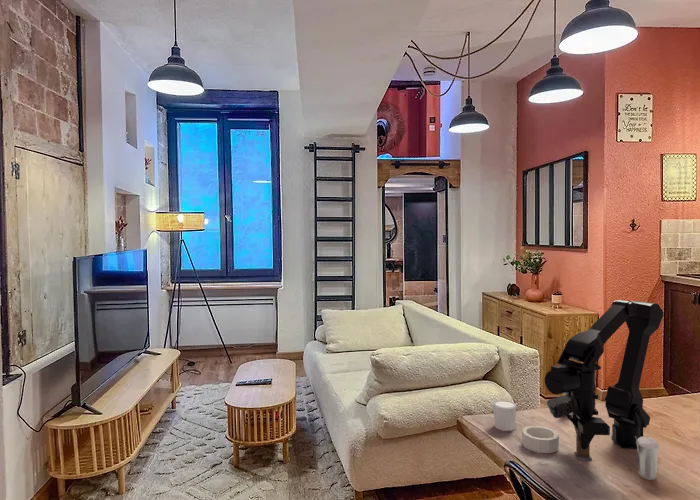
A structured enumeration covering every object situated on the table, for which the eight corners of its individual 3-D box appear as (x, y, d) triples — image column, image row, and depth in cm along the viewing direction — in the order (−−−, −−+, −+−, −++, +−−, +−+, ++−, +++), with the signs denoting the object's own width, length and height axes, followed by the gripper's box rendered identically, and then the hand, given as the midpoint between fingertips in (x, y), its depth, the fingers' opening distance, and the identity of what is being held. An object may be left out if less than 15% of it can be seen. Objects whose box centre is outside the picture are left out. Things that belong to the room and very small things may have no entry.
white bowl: (552, 438, 133) (552, 426, 133) (563, 454, 124) (563, 440, 124) (518, 437, 134) (518, 425, 134) (527, 452, 125) (526, 439, 125)
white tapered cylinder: (518, 432, 138) (518, 409, 138) (494, 431, 139) (493, 407, 139) (515, 423, 145) (515, 400, 144) (491, 421, 146) (491, 399, 146)
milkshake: (628, 472, 114) (628, 431, 114) (649, 471, 114) (649, 430, 114) (641, 482, 109) (641, 440, 109) (663, 481, 110) (663, 438, 110)
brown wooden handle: (574, 454, 124) (574, 421, 124) (587, 454, 124) (587, 422, 123) (578, 460, 121) (578, 426, 121) (591, 460, 120) (591, 427, 120)
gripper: (539, 376, 132) (540, 431, 132) (561, 400, 113) (562, 464, 114) (581, 377, 130) (582, 432, 131) (610, 401, 112) (611, 465, 112)
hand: (582, 447), depth 122 cm, fingers closed on brown wooden handle
